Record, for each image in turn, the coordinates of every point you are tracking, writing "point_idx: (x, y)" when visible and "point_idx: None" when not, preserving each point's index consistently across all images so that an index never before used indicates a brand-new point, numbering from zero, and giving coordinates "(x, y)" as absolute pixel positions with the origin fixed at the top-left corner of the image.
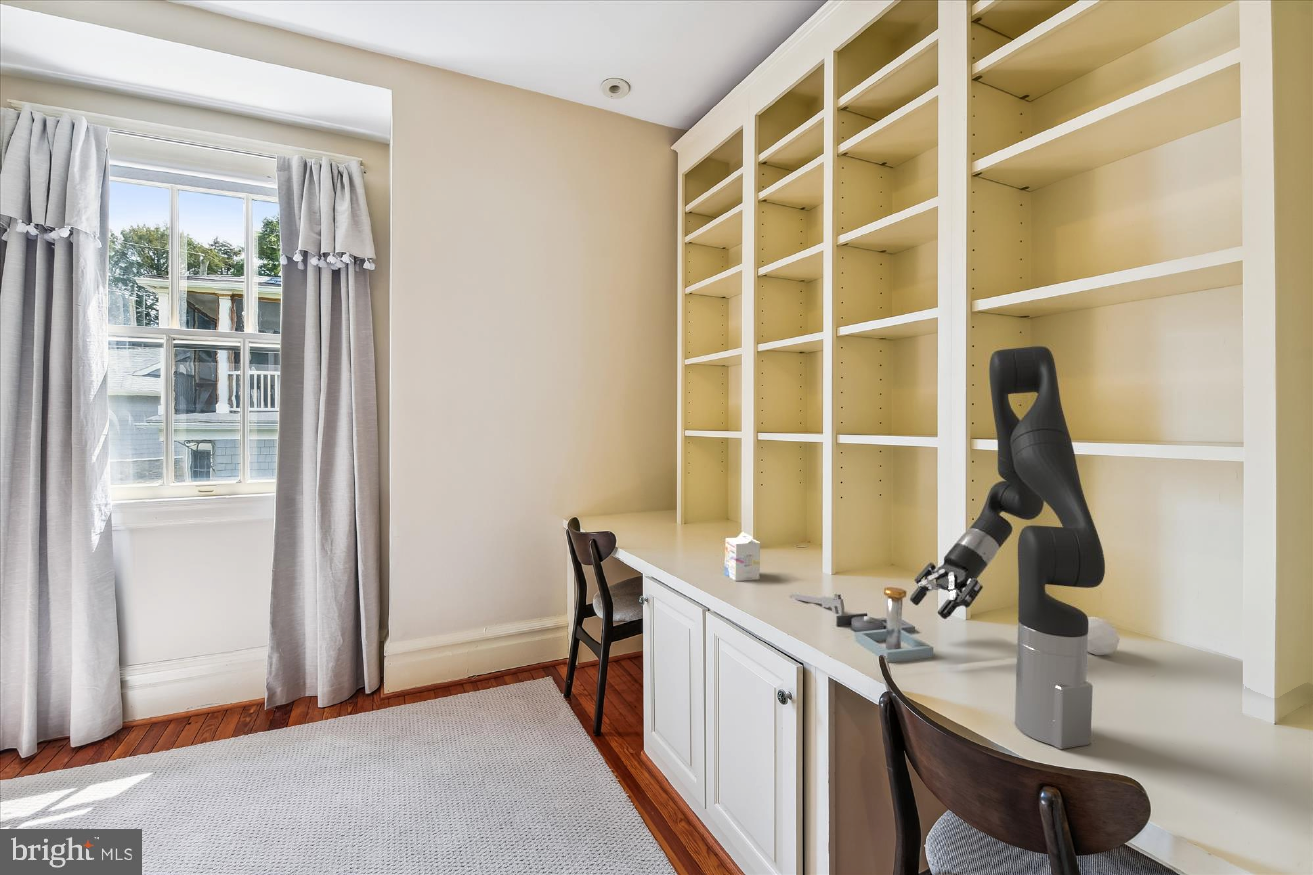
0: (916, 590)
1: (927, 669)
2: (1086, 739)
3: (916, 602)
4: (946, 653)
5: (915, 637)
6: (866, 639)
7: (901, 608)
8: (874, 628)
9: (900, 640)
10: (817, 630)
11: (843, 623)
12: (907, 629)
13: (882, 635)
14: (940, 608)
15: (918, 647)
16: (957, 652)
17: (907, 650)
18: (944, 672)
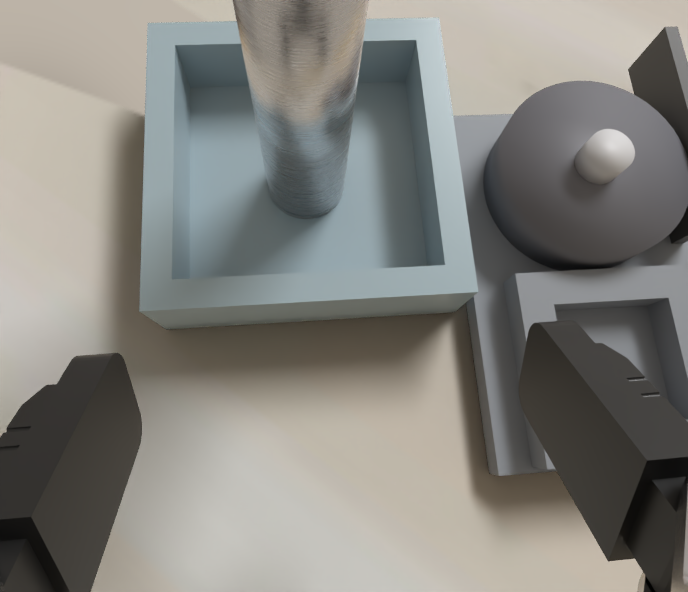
0: (644, 402)
1: (95, 241)
2: None
3: (532, 389)
4: (246, 486)
5: (307, 300)
6: None
7: (237, 11)
8: (499, 158)
9: (268, 170)
10: (620, 3)
11: (645, 93)
12: None
13: (427, 175)
14: (95, 382)
15: (161, 219)
16: (244, 572)
17: (144, 137)
18: (39, 303)
